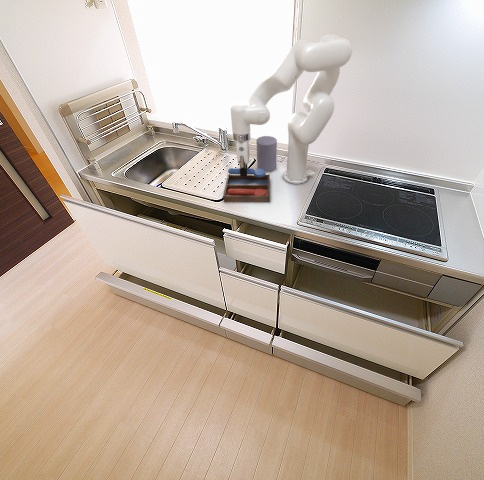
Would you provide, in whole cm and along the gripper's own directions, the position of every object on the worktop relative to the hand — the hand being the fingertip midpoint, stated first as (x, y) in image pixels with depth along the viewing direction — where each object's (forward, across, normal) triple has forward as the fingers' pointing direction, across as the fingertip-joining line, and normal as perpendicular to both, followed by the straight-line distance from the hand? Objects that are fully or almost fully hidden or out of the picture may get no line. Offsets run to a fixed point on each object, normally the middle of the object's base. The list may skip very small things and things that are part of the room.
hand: (243, 173), depth 124 cm
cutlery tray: (+7, -4, -2) cm, 8 cm away
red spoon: (+6, -9, -1) cm, 11 cm away
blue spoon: (0, 0, -1) cm, 1 cm away
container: (+7, +18, -11) cm, 22 cm away
